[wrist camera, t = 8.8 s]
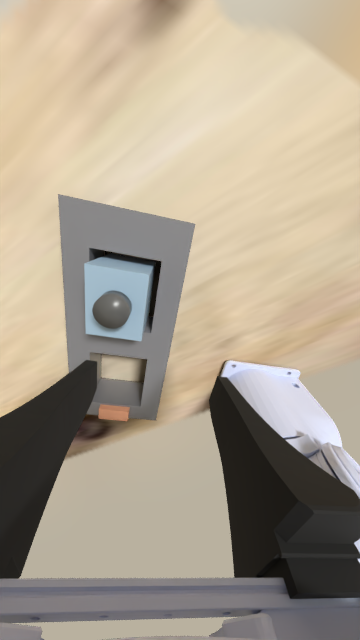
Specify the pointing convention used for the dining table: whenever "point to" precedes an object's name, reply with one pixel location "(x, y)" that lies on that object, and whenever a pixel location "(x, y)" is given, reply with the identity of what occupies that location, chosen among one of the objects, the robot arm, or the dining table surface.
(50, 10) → the dining table surface
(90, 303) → the plug
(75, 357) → the grey slotted tray
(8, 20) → the dining table surface
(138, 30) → the dining table surface
